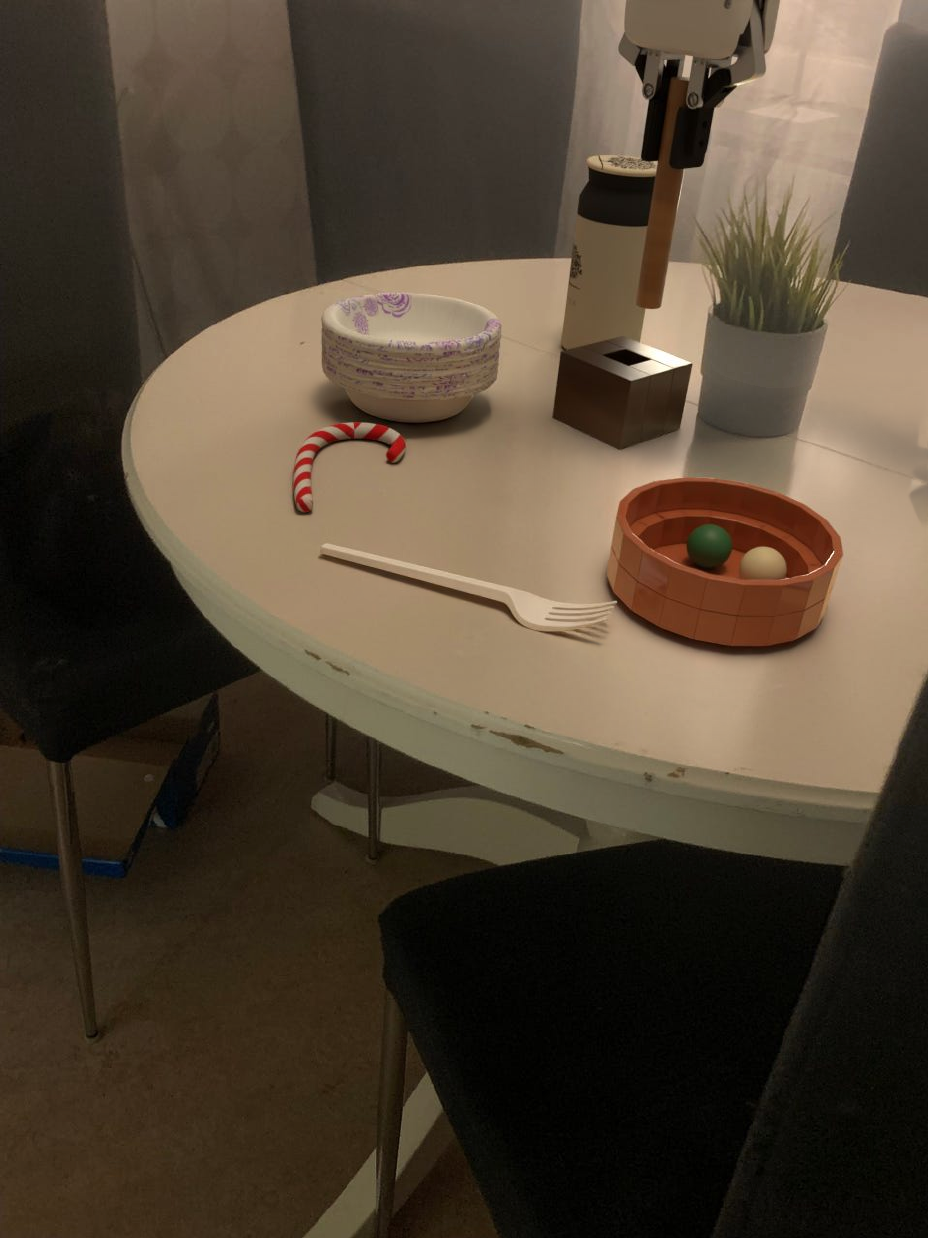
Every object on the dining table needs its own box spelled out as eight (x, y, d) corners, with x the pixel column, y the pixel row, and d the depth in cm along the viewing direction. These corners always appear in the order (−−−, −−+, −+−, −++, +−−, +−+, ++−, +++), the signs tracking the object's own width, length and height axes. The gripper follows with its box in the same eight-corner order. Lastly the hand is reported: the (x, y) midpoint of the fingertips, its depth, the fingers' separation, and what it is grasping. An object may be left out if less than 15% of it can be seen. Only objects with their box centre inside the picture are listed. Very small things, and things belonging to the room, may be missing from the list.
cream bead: (752, 572, 73) (762, 533, 71) (789, 592, 71) (800, 552, 70) (725, 586, 71) (735, 546, 70) (762, 606, 70) (773, 566, 68)
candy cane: (257, 491, 76) (323, 413, 89) (258, 507, 77) (323, 427, 89) (363, 508, 75) (415, 427, 88) (363, 525, 76) (414, 442, 88)
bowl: (695, 521, 80) (708, 460, 77) (864, 606, 72) (885, 541, 69) (562, 578, 72) (571, 511, 69) (735, 682, 63) (753, 610, 61)
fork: (332, 544, 73) (332, 520, 72) (615, 622, 68) (619, 597, 67) (308, 566, 71) (308, 541, 70) (600, 648, 65) (605, 622, 64)
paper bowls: (383, 360, 104) (386, 276, 99) (524, 399, 98) (533, 312, 93) (285, 408, 92) (283, 316, 88) (437, 455, 86) (443, 359, 82)
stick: (647, 299, 85) (683, 75, 77) (666, 307, 84) (705, 80, 75) (630, 303, 84) (665, 76, 76) (649, 310, 83) (687, 80, 74)
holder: (612, 398, 100) (622, 335, 96) (680, 428, 95) (693, 363, 91) (552, 417, 95) (560, 350, 92) (619, 449, 90) (631, 380, 87)
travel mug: (639, 341, 114) (669, 159, 104) (636, 367, 107) (668, 175, 97) (564, 332, 114) (587, 150, 105) (556, 356, 108) (580, 165, 98)
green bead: (701, 550, 75) (709, 512, 74) (736, 568, 73) (745, 529, 72) (673, 562, 73) (681, 523, 72) (708, 581, 72) (717, 542, 70)
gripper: (863, -137, 66) (792, 182, 76) (665, -143, 75) (625, 140, 86) (791, -149, 61) (726, 191, 72) (591, -154, 71) (558, 146, 81)
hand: (671, 161), depth 78 cm, fingers closed on stick, 2 cm apart
